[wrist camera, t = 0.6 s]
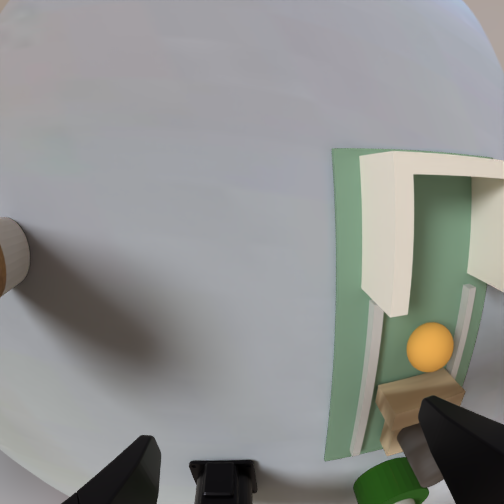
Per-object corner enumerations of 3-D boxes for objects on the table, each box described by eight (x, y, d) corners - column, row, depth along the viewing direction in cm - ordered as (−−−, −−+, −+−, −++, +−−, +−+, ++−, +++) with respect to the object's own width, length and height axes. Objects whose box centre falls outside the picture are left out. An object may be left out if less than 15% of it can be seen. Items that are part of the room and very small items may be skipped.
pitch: (445, 425, 26) (465, 454, 21) (324, 458, 26) (334, 497, 21) (490, 157, 19) (534, 158, 14) (331, 149, 19) (360, 140, 14)
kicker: (425, 426, 25) (458, 479, 17) (365, 443, 25) (391, 506, 17) (443, 367, 23) (491, 421, 15) (378, 385, 23) (418, 453, 15)
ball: (433, 351, 23) (456, 374, 19) (395, 360, 23) (415, 387, 19) (440, 310, 22) (467, 331, 18) (401, 318, 22) (425, 342, 18)
